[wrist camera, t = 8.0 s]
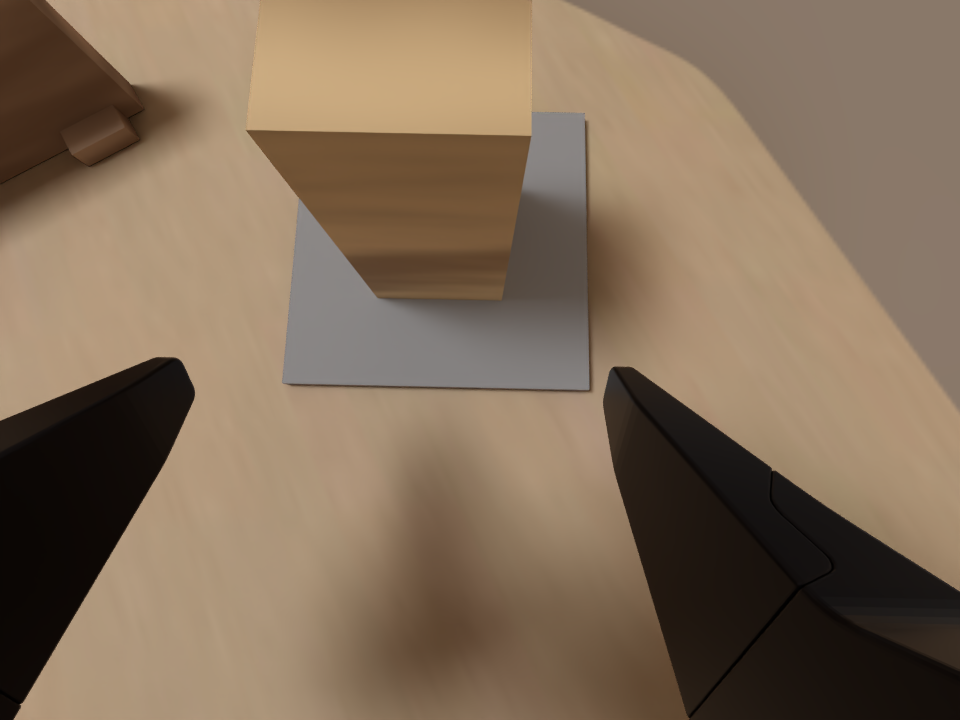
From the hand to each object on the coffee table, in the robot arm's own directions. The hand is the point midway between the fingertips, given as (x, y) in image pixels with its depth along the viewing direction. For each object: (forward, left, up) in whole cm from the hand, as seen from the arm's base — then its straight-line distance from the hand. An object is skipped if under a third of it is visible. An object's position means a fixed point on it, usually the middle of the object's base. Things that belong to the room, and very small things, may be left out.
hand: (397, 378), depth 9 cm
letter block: (+6, -1, -8) cm, 10 cm away
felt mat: (+6, -1, -8) cm, 10 cm away
